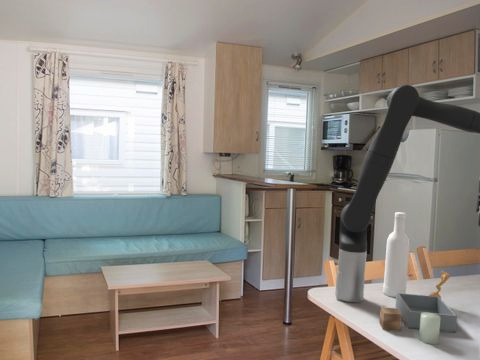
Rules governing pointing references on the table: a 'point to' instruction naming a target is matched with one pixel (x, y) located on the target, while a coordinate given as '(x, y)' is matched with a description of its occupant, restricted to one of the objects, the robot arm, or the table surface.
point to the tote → (425, 310)
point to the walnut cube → (390, 319)
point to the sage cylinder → (429, 328)
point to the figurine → (440, 284)
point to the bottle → (396, 258)
